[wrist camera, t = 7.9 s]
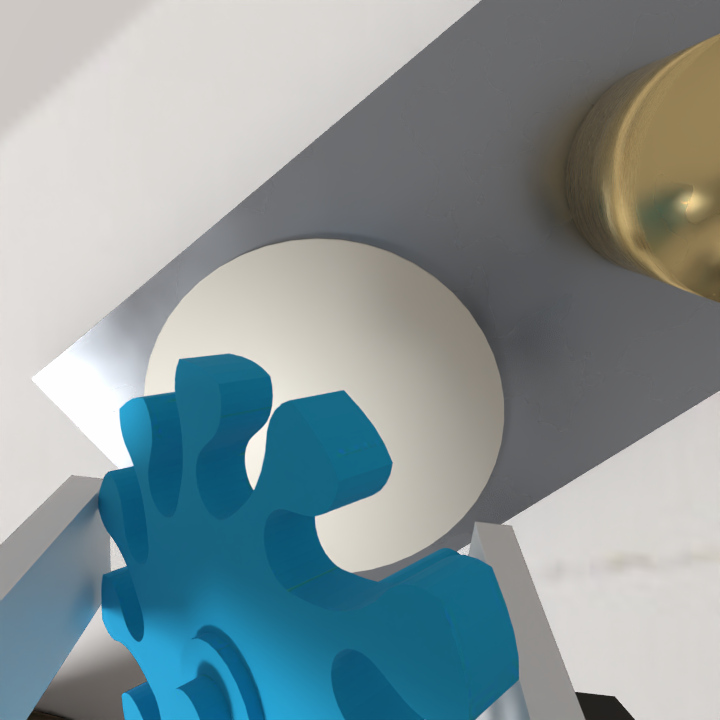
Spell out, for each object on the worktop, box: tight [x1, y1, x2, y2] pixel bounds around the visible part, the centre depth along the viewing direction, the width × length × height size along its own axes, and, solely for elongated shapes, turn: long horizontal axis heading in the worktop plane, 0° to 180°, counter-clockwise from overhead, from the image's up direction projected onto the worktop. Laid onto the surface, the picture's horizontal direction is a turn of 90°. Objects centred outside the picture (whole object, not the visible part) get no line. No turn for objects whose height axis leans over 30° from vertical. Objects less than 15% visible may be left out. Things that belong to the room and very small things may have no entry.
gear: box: [98, 353, 519, 720], centre depth 10 cm, size 11×6×10 cm
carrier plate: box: [32, 0, 720, 582], centre depth 16 cm, size 26×14×7 cm, turn 128°
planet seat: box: [144, 238, 504, 573], centre depth 19 cm, size 12×12×1 cm
